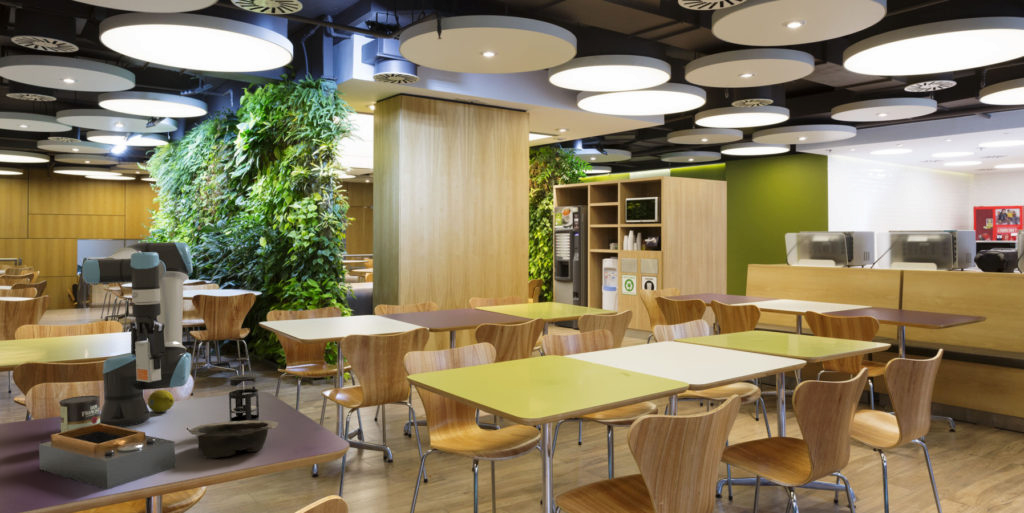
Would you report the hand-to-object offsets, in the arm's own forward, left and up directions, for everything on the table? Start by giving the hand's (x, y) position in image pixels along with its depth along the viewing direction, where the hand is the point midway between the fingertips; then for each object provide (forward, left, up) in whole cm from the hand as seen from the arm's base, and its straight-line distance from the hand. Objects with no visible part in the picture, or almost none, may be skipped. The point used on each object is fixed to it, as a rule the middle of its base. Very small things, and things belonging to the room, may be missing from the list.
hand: (148, 378), depth 201 cm
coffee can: (-19, -10, -20) cm, 29 cm away
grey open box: (+11, -19, -20) cm, 30 cm away
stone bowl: (+28, +8, -20) cm, 36 cm away
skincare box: (0, 0, -1) cm, 1 cm away
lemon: (-35, +26, -20) cm, 48 cm away
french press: (+11, +25, -20) cm, 34 cm away
